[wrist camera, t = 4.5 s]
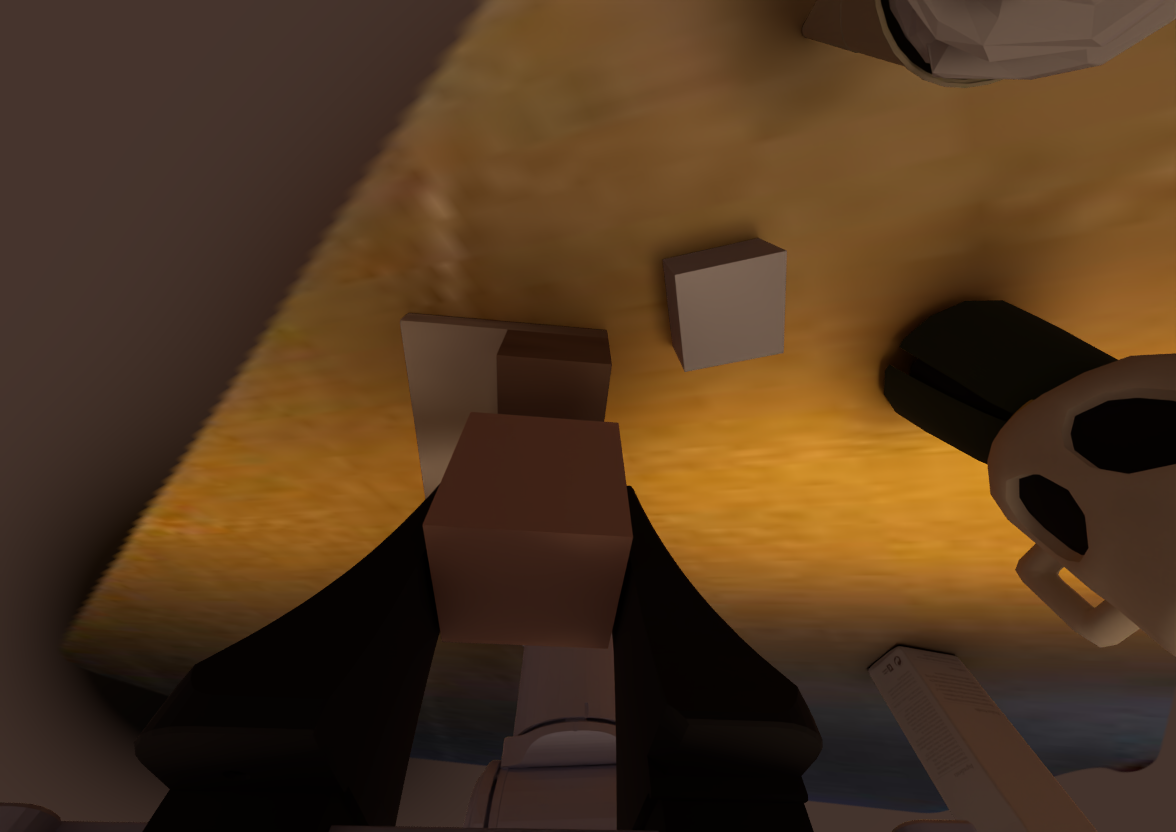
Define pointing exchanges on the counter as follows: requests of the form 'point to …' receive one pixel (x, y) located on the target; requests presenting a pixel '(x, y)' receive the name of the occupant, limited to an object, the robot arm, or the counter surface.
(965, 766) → the skincare box
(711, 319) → the grey block
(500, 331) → the birch board
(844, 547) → the counter surface
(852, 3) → the ice cream cone
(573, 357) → the walnut bar
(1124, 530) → the character mug
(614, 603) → the terracotta cube
